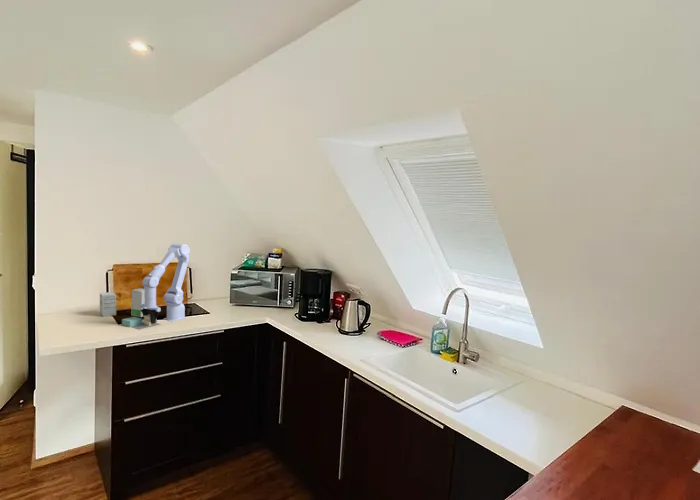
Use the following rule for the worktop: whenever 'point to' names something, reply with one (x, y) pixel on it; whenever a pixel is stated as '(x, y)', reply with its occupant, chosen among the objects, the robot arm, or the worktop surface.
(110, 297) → the supplement box
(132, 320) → the plinth
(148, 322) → the maple block
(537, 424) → the worktop surface
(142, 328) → the mat
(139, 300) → the skincare box
